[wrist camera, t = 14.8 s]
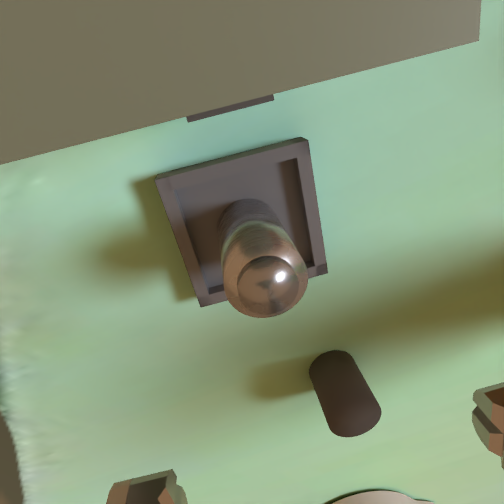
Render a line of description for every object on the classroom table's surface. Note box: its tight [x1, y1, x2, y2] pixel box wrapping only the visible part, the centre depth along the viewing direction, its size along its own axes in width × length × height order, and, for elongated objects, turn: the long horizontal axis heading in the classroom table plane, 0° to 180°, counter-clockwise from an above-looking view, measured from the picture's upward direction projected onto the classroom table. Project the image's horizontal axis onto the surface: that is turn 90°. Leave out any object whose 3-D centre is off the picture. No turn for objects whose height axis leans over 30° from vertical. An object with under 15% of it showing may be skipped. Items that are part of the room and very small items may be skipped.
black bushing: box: [309, 350, 381, 437], centre depth 27 cm, size 4×4×5 cm
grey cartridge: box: [217, 199, 308, 318], centre depth 19 cm, size 4×4×8 cm
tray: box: [155, 137, 328, 307], centre depth 22 cm, size 9×9×2 cm
